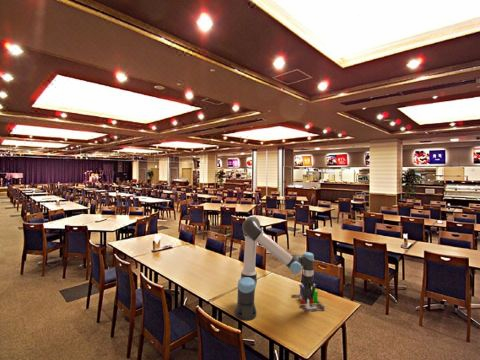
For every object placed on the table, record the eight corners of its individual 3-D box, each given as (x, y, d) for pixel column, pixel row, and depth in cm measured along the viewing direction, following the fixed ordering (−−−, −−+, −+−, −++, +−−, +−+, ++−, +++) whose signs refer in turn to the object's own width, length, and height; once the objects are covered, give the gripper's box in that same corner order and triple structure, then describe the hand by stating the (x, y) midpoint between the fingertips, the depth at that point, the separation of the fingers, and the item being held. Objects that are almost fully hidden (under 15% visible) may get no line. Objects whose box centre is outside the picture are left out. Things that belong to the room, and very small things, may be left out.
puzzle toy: (299, 299, 201) (300, 286, 201) (312, 298, 202) (312, 286, 202) (304, 305, 191) (304, 291, 191) (317, 305, 192) (317, 291, 192)
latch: (308, 310, 182) (308, 306, 182) (307, 309, 184) (307, 304, 184) (316, 310, 183) (316, 305, 183) (315, 308, 185) (315, 304, 185)
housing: (303, 313, 179) (304, 308, 179) (291, 297, 203) (291, 293, 203) (326, 312, 182) (326, 307, 182) (311, 296, 205) (311, 292, 205)
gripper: (301, 277, 178) (300, 311, 178) (319, 276, 180) (318, 310, 180) (297, 273, 185) (296, 305, 185) (314, 272, 187) (313, 304, 187)
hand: (307, 307), depth 182 cm, fingers closed
